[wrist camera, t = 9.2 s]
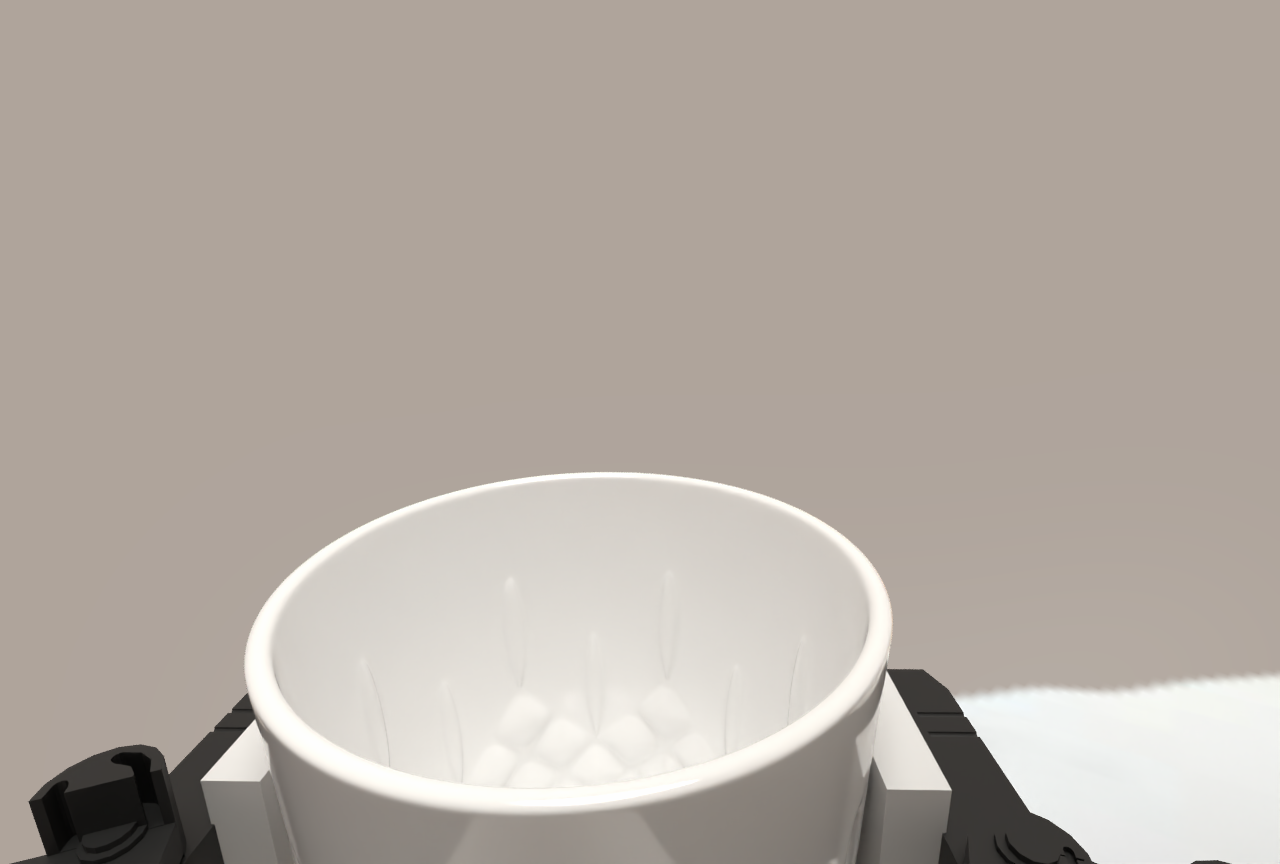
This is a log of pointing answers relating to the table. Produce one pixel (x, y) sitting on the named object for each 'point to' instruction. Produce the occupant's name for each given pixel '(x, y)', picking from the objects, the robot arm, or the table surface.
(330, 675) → the white cup
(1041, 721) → the table surface
